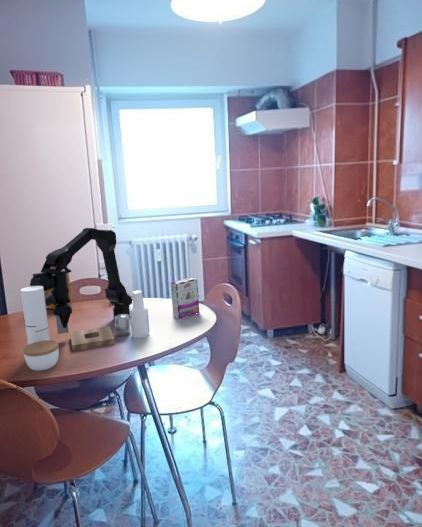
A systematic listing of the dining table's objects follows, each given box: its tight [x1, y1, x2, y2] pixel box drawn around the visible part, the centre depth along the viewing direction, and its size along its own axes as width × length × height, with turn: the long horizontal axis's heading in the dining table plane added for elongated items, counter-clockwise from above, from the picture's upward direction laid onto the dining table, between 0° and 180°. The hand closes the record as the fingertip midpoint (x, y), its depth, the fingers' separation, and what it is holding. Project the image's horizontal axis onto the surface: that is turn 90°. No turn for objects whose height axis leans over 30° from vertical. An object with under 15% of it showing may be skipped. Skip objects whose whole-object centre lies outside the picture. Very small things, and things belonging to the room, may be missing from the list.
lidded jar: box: [22, 339, 60, 372], centre depth 139 cm, size 11×11×9 cm
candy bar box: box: [170, 277, 200, 320], centre depth 184 cm, size 11×5×16 cm, turn 129°
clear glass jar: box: [114, 314, 132, 338], centre depth 165 cm, size 6×6×8 cm
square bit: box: [55, 315, 70, 335], centre depth 160 cm, size 4×4×8 cm
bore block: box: [69, 325, 116, 352], centre depth 160 cm, size 15×15×3 cm
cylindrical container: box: [20, 285, 51, 345], centre depth 146 cm, size 7×7×25 cm
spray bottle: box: [129, 290, 150, 339], centre depth 162 cm, size 7×7×18 cm
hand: (64, 326), depth 161 cm, fingers closed on square bit, 4 cm apart
